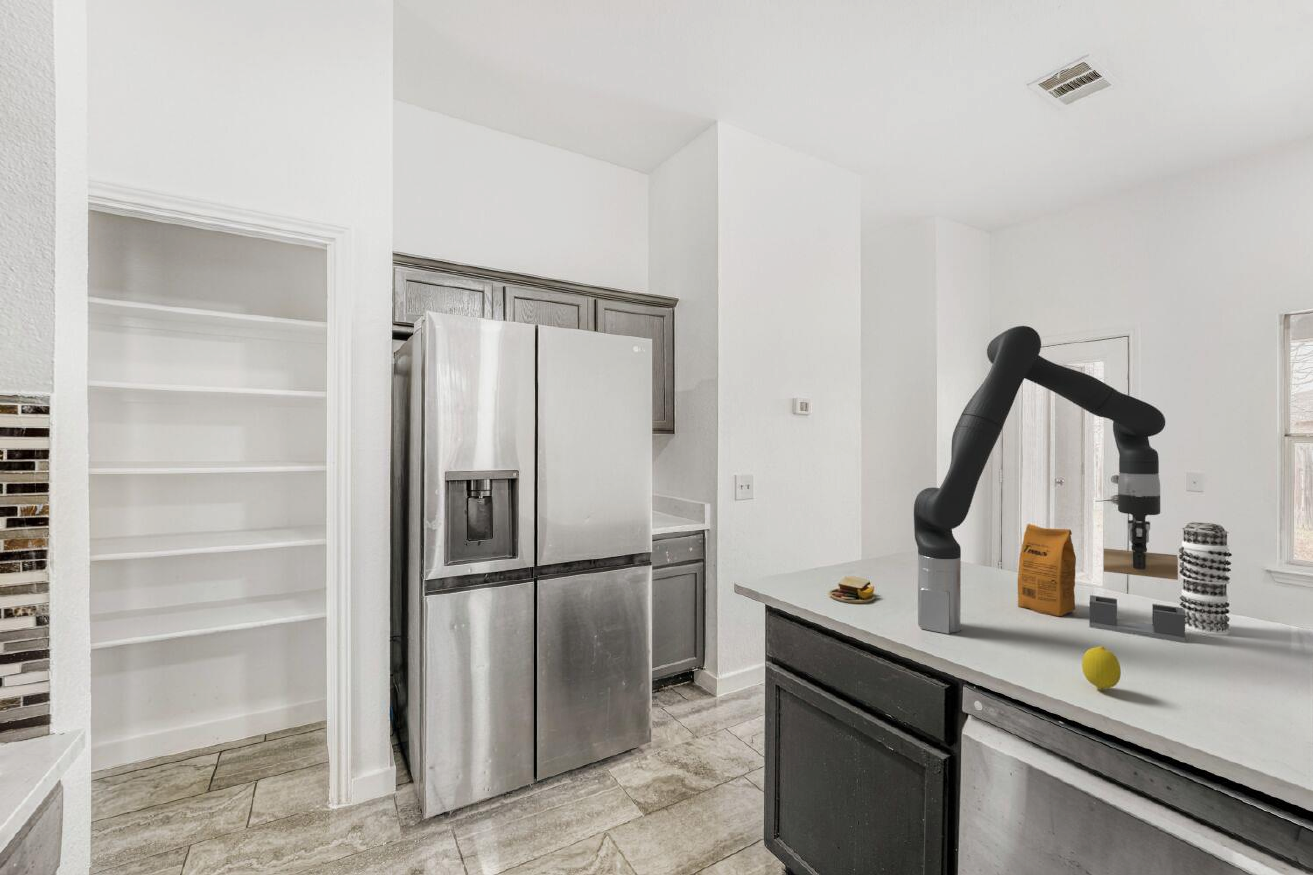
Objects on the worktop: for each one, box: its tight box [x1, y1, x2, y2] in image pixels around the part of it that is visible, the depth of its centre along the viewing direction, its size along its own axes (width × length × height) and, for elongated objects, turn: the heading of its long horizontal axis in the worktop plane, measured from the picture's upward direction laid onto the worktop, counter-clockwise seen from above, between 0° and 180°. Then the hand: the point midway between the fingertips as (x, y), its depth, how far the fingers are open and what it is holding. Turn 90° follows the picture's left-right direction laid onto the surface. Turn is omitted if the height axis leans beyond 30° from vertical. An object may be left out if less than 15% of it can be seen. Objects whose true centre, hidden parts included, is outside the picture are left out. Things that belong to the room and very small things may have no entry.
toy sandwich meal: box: [828, 575, 876, 604], centre depth 163 cm, size 12×14×5 cm
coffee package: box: [1017, 523, 1077, 617], centre depth 152 cm, size 10×12×22 cm
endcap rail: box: [1088, 594, 1186, 644], centre depth 136 cm, size 8×17×6 cm, turn 52°
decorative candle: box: [1178, 522, 1233, 636], centre depth 136 cm, size 9×9×25 cm
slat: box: [1103, 547, 1179, 581], centre depth 133 cm, size 3×13×5 cm, turn 51°
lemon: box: [1081, 645, 1122, 691], centre depth 104 cm, size 6×6×8 cm
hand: (1139, 566), depth 133 cm, fingers closed on slat, 3 cm apart
